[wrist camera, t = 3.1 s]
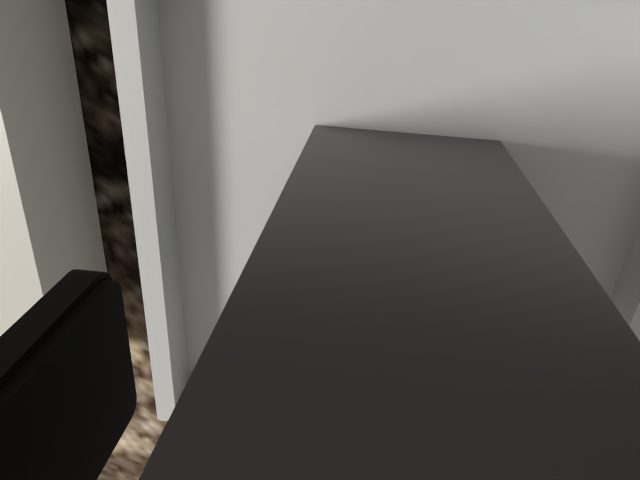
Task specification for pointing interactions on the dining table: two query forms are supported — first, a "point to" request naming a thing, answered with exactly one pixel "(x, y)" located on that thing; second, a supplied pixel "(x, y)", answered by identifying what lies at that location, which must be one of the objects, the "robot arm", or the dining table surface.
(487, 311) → the plug
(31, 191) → the power strip
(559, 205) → the tray
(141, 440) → the dining table surface
